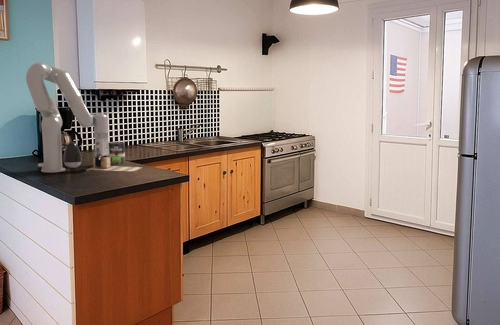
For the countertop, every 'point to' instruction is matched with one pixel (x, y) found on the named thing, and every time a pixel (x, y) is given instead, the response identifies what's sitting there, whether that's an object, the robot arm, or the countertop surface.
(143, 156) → the countertop surface
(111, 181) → the countertop surface
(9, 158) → the countertop surface
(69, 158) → the grey egg shaped speaker
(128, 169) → the board
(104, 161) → the sanding block
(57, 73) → the robot arm
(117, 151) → the coffee can
